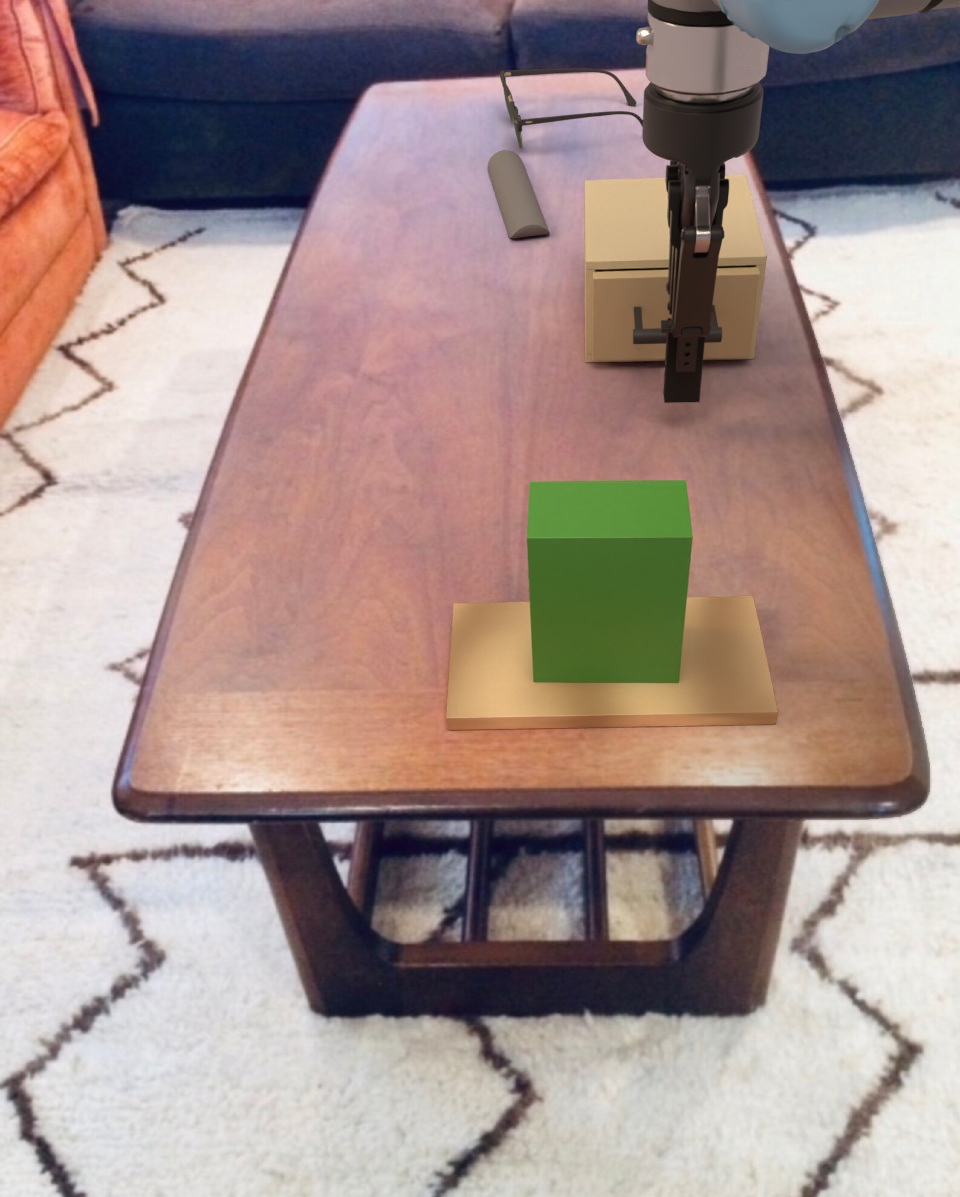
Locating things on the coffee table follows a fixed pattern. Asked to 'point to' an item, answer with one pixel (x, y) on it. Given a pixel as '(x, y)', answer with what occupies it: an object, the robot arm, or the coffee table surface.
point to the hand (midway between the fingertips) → (681, 397)
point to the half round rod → (516, 195)
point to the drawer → (639, 304)
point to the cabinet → (659, 235)
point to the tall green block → (608, 579)
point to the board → (702, 697)
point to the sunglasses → (521, 122)
